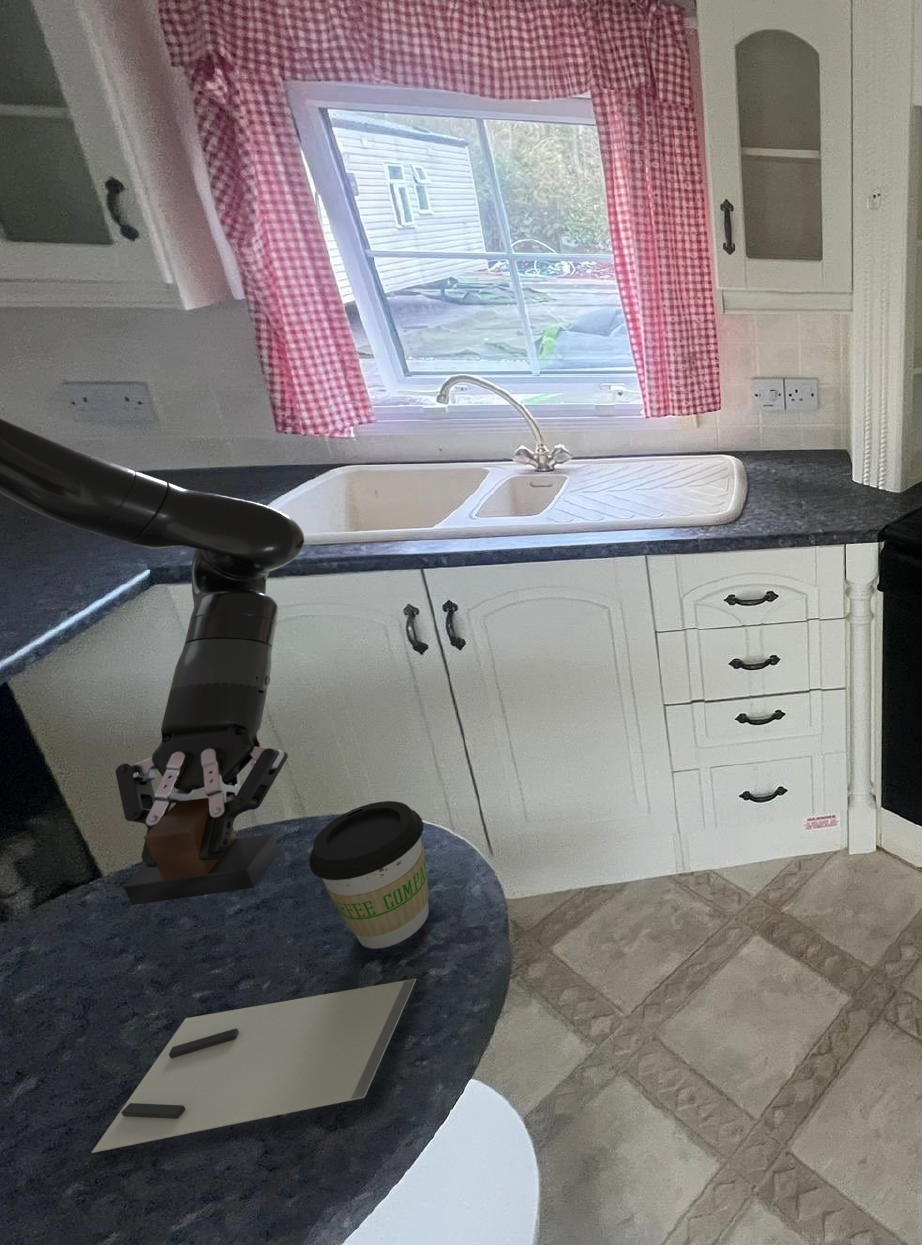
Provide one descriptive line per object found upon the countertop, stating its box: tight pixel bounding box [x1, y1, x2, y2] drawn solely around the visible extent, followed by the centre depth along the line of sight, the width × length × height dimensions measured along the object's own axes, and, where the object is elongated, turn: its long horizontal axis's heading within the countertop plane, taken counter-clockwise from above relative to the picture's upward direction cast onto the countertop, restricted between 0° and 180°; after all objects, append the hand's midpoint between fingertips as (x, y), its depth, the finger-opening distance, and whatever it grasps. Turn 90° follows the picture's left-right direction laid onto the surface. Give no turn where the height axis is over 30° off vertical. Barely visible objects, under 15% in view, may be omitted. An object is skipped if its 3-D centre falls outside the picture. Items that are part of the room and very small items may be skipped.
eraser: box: [122, 797, 281, 906], centre depth 77 cm, size 10×5×8 cm, turn 105°
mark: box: [169, 1028, 239, 1058], centre depth 73 cm, size 5×1×1 cm, turn 114°
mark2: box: [121, 1103, 185, 1119], centre depth 67 cm, size 5×1×1 cm, turn 89°
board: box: [90, 978, 417, 1154], centre depth 73 cm, size 20×12×2 cm, turn 104°
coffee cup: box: [309, 800, 430, 950], centre depth 84 cm, size 10×10×15 cm
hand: (184, 861), depth 75 cm, fingers closed on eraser, 3 cm apart
